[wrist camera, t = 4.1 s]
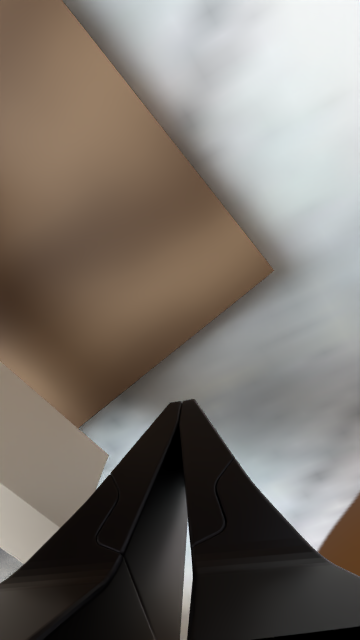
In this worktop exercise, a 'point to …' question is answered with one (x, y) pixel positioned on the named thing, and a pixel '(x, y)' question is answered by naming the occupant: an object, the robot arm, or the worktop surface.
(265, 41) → the worktop surface
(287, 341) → the worktop surface
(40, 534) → the orange and white spoon
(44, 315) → the post board
